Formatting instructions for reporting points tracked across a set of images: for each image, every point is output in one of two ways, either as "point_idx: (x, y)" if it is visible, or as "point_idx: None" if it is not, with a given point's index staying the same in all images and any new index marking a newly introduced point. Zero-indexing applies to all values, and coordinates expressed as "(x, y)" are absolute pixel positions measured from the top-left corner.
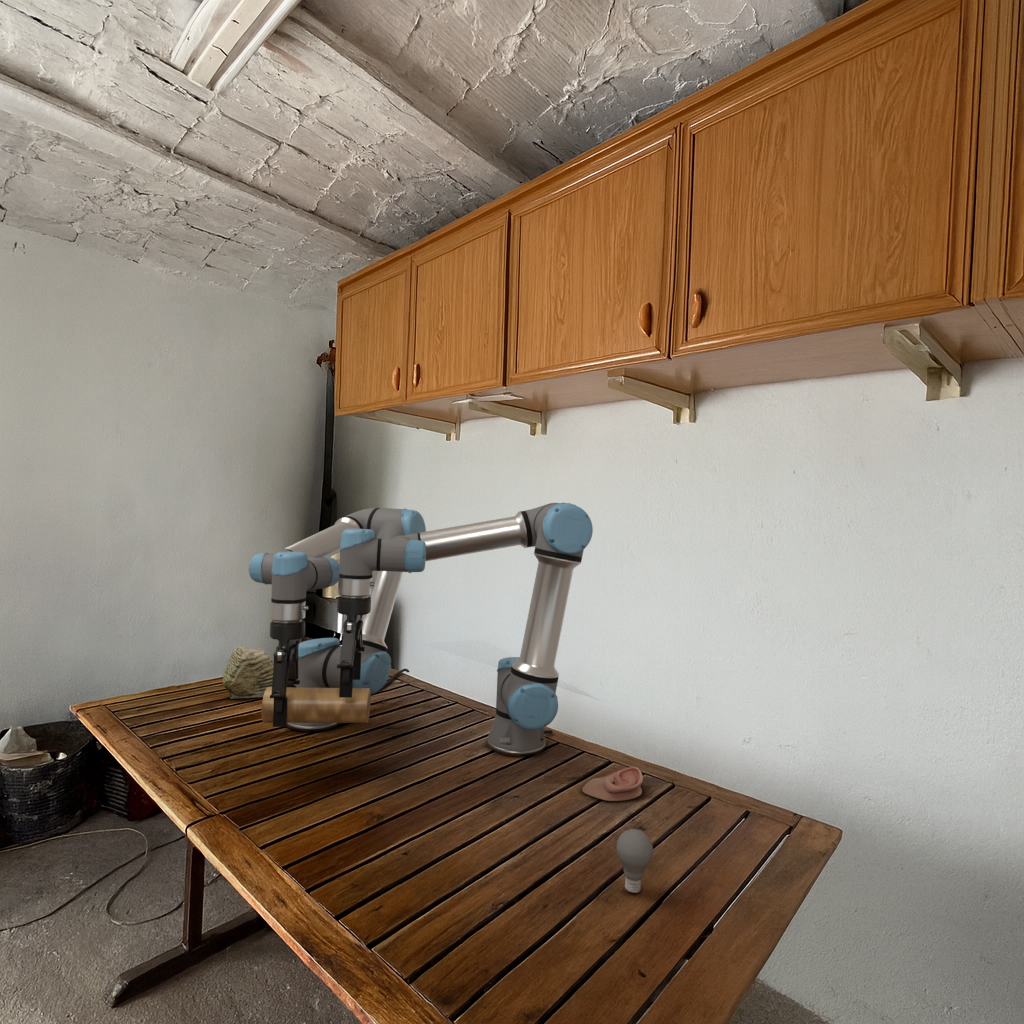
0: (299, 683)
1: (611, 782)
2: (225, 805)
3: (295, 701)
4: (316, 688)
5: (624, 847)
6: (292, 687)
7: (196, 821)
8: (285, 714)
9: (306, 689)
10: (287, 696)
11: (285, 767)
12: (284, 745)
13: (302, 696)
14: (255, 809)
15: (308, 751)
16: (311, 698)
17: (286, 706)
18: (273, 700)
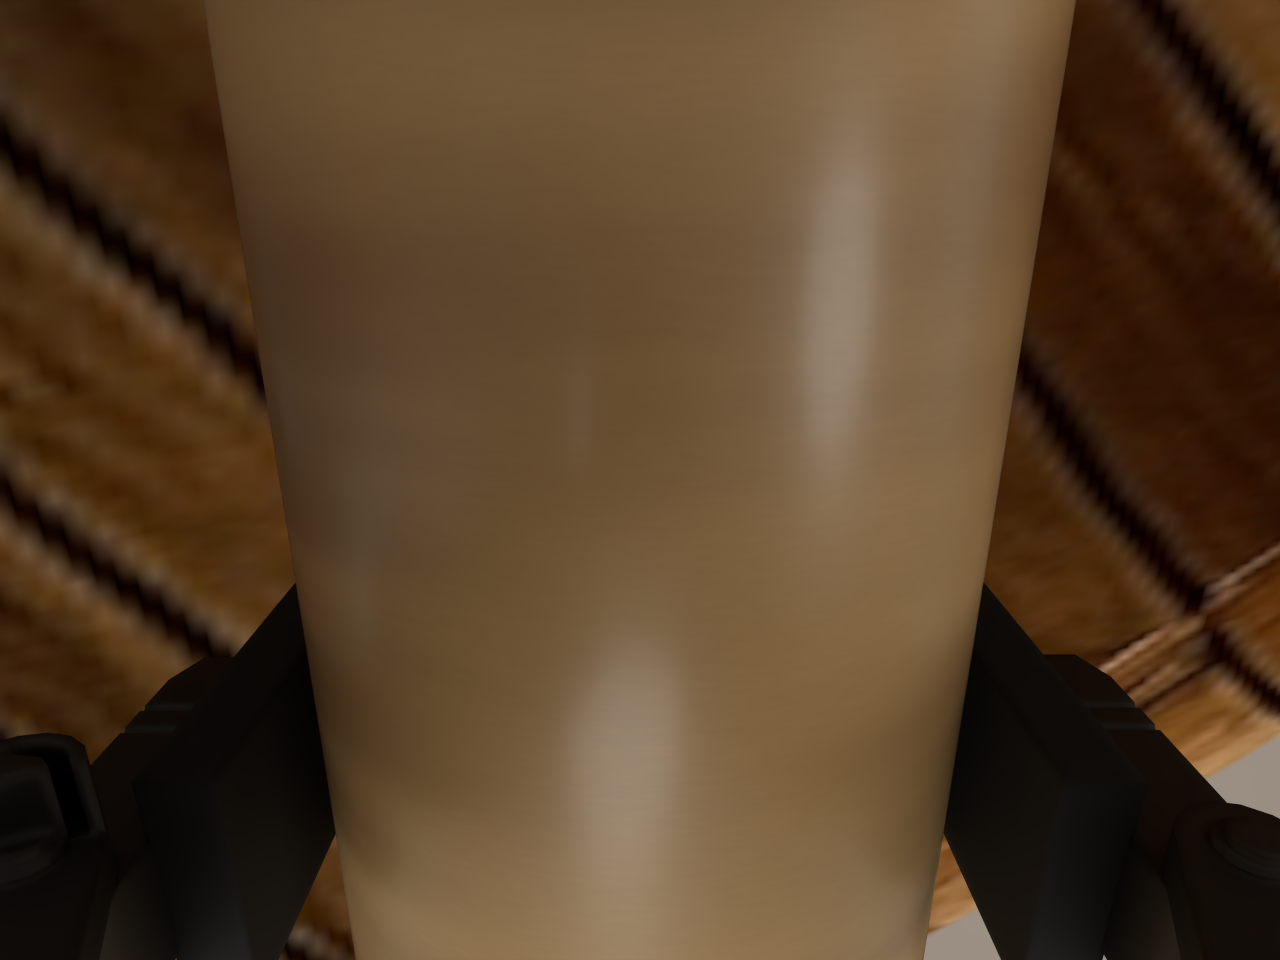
0: (2, 742)
1: None
2: (1102, 612)
3: (984, 554)
4: (658, 104)
5: None
6: (542, 833)
7: (1265, 696)
8: (988, 594)
9: (739, 440)
10: (925, 778)
11: None
12: (142, 497)
13: (968, 453)
14: (1200, 429)
15: (226, 283)
16: (1033, 186)
17: (1017, 658)
18: (918, 936)
